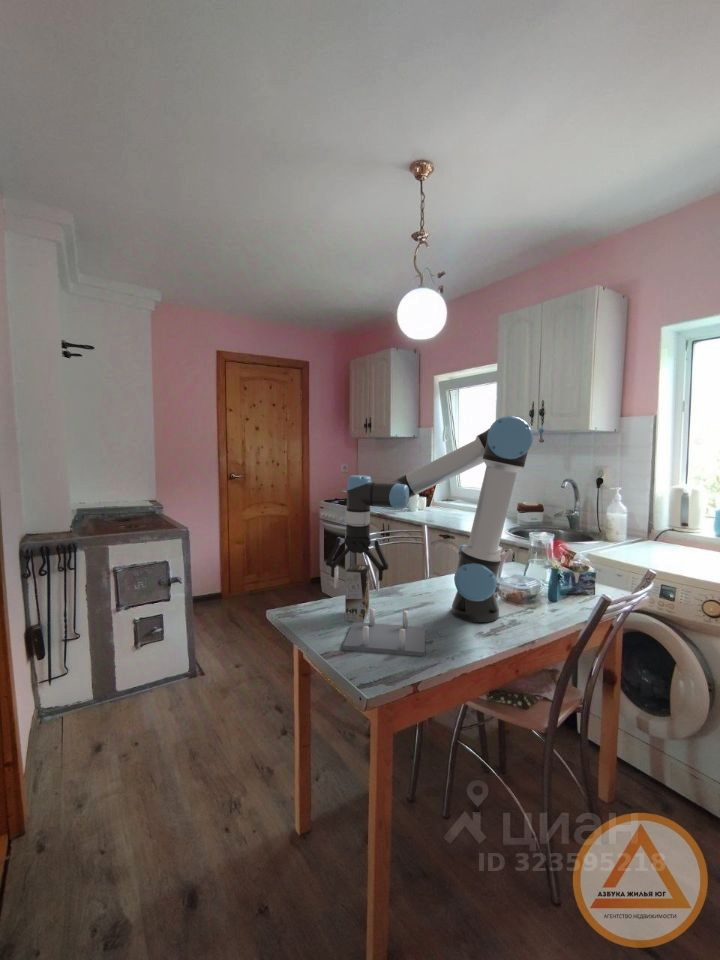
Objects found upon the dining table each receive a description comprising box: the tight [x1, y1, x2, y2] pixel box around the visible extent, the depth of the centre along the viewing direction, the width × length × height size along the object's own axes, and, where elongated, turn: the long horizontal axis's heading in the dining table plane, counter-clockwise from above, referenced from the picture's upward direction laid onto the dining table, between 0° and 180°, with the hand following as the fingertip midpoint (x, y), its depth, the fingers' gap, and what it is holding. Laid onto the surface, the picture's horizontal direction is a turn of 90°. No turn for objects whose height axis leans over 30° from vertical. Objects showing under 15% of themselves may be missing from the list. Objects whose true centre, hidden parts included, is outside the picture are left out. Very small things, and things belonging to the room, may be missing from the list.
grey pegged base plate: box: [342, 607, 426, 657], centre depth 127 cm, size 22×16×6 cm
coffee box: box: [344, 564, 370, 623], centre depth 143 cm, size 9×6×16 cm
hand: (356, 588), depth 143 cm, fingers open, 13 cm apart
